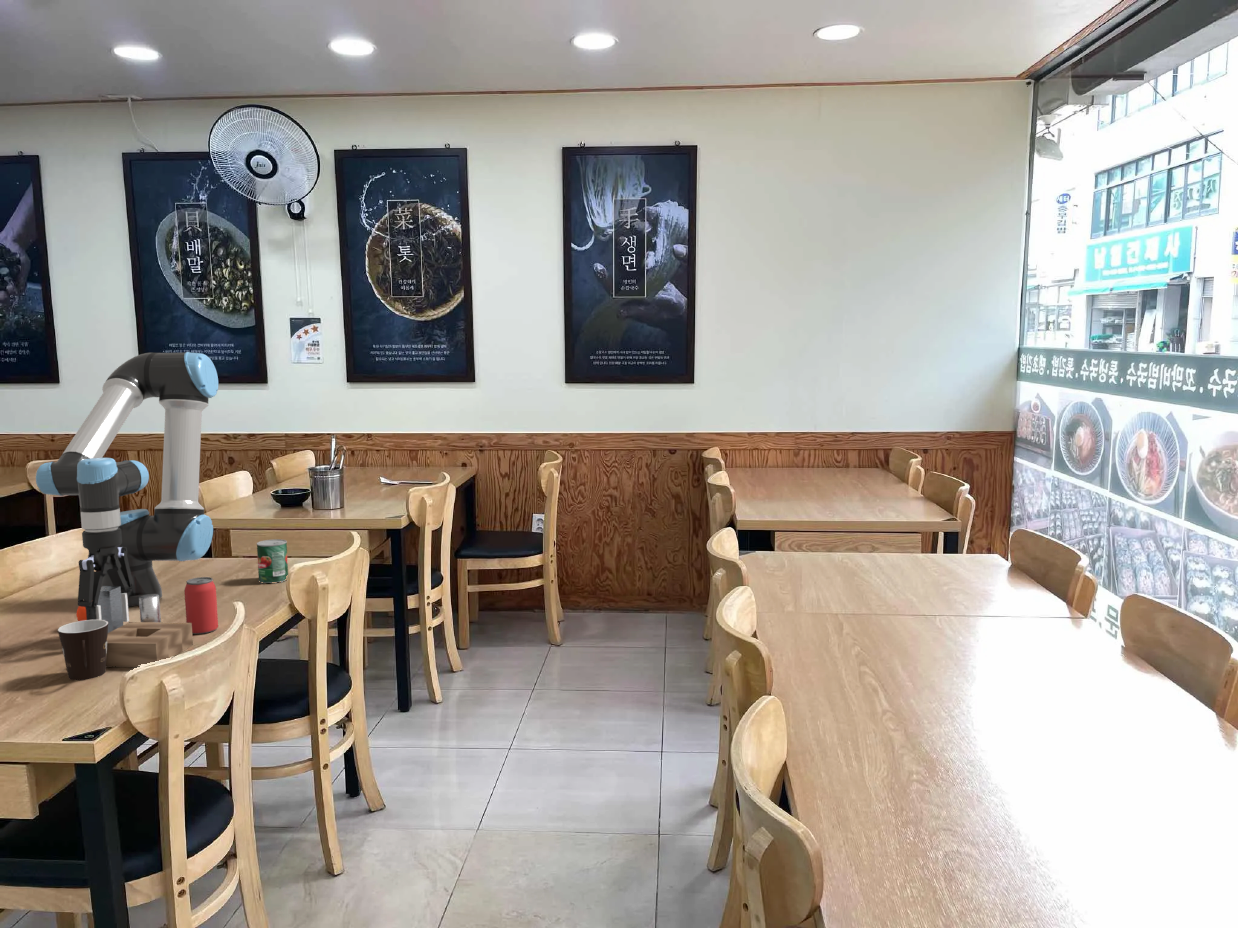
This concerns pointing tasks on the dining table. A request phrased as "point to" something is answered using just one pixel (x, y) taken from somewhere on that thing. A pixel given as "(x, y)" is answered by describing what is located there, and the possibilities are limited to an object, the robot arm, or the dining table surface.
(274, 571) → the canned tomato
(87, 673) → the coffee mug
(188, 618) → the beer can
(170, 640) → the socket block
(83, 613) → the clementine
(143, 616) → the cylinder
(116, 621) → the square bit
